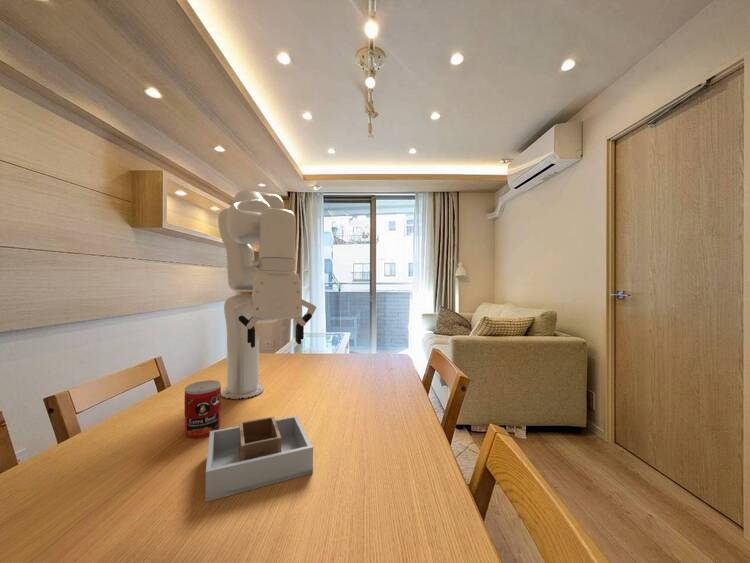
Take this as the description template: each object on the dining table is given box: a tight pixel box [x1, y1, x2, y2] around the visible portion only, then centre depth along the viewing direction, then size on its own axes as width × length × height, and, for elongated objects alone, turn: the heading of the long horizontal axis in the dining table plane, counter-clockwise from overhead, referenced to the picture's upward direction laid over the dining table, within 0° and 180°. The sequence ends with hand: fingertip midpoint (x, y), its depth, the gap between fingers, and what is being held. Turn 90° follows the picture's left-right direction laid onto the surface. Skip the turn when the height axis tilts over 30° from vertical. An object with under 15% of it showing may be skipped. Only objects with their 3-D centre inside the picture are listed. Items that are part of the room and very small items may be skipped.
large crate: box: [205, 415, 314, 503], centre depth 62 cm, size 15×18×5 cm
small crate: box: [238, 416, 281, 461], centre depth 62 cm, size 10×7×6 cm
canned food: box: [184, 379, 222, 439], centre depth 75 cm, size 8×8×11 cm
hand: (276, 344), depth 68 cm, fingers open, 9 cm apart
